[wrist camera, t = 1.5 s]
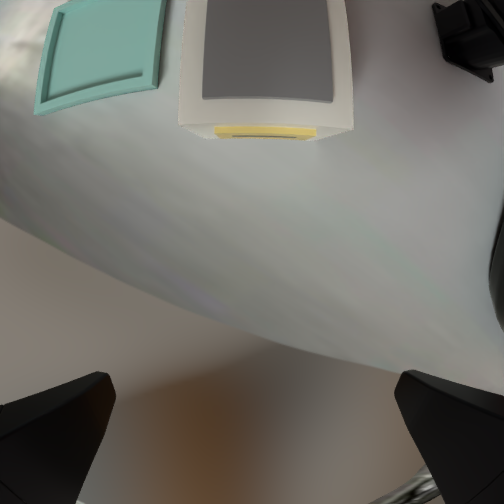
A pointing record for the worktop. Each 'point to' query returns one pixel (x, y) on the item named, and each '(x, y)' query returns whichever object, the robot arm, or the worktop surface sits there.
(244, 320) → the worktop surface
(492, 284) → the toaster
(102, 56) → the tray
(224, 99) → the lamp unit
